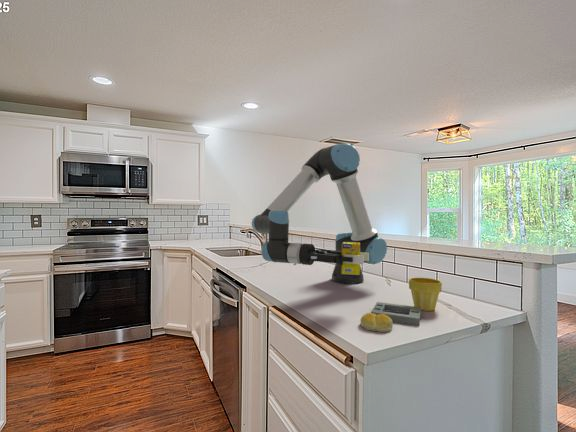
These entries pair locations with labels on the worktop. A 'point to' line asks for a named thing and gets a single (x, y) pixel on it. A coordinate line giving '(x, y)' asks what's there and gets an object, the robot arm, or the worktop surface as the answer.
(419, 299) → the plant pot
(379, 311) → the socket plate
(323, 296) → the worktop surface
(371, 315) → the bread roll
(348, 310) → the worktop surface
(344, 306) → the worktop surface
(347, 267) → the supplement box
